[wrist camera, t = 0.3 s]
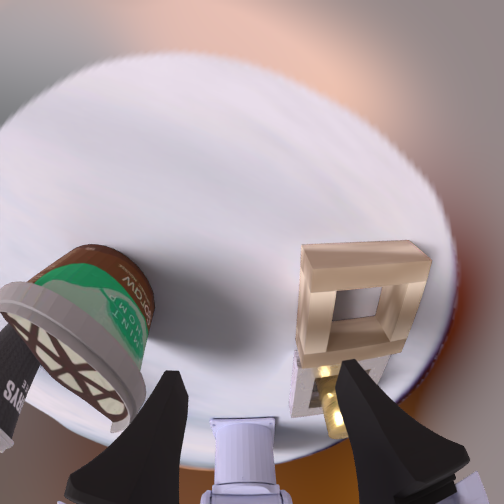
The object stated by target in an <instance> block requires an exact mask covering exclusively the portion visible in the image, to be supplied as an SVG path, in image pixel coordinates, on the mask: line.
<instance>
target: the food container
mask: <svg viewBox="0 0 504 504" xmlns="http://www.w3.org/2000/svg"><path fill="white" fill-rule="evenodd" d="M154 309H155V304H154V296H153V291H152V289H151V286H150V284H149V282H148V280H147V278H146V277H145V275H144V273H143V272H142V271H141V270H140V269H139V267H138V266H137V265H136V264H135V263H134V262H133V261H131V260H130V259H129V258H128V257H126V256H125V255H123V254H122V253H120V252H118V251H116V250H115V249H112V248H109V247H107V246H102V245H97V244H88V245H82V246H79V247H77V248H75V249H73V250H72V251H70V252H69V253H67V254H66V255H64V256H63V257H61V258H60V259H58V260H57V261H55V262H54V263H52V264H51V265H50V266H48V267H47V268H45V269H44V270H42V271H41V272H40V273H38V274H37V275H35V276H34V277H33V278H31V279H30V280H29V281H27V282H11V283H9V284H6V285H5V286H3V287H2V288H1V289H0V313H1V314H2V316H3V317H4V318H5V320H6V321H7V322H8V323H9V324H10V325H11V326H12V327H13V329H14V330H15V331H16V332H17V334H18V335H19V336H20V337H21V339H22V340H23V341H24V342H25V343H26V345H27V346H28V347H29V349H30V350H31V351H32V353H33V354H34V356H35V357H36V358H37V360H38V361H39V362H40V364H41V365H42V366H43V367H44V369H45V370H46V371H47V372H48V373H49V374H50V376H51V377H52V378H53V379H55V380H56V381H57V382H58V383H60V384H61V385H62V386H64V387H65V388H67V389H68V390H70V391H71V392H73V393H75V394H76V395H78V396H79V397H80V398H82V399H83V400H85V401H86V402H88V403H89V404H90V405H91V406H93V407H94V408H95V409H97V410H98V411H99V412H101V413H102V414H103V415H105V416H106V417H107V418H109V419H110V420H111V421H112V426H111V431H110V433H115V432H119V431H122V430H124V429H125V428H126V427H127V426H128V424H129V423H131V422H132V421H133V419H134V418H135V417H136V415H137V413H138V411H139V410H140V408H141V406H142V404H143V402H144V401H145V396H146V388H145V383H144V380H143V377H142V374H141V372H140V370H141V365H142V360H143V355H144V351H145V346H146V342H147V337H148V333H149V329H150V325H151V321H152V317H153V313H154Z"/></svg>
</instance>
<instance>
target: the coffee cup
mask: <svg viewBox="0 0 504 504" xmlns="http://www.w3.org/2000/svg"><path fill="white" fill-rule="evenodd" d="M39 366H40V362H39V361H38V360H37V358H36V357H35V356H34V354H33V353H32V351H31V350H30V349H29V347H28V346H27V345H26V343H25V342H24V341H23V340H22V339H21V337H20V336H19V335H18V334H17V332H16V331H15V330H14V329H13V327H12V326H11V325H10V324H9V323H8V324H7V325H6V326H5V327H4V328H3V329H2V330H1V331H0V452H1V453H3V452H4V450H5V449H6V448H7V449H9V448H10V447H12V446H13V445H14V442H13V441H12V440H11V439H12V436H13V433H14V429H15V426H16V423H17V420H18V417H19V414H20V412H21V409H22V406H23V403H24V401H25V398H26V396H27V393H28V391H29V389H30V386H31V384H32V382H33V379H34V377H35V375H36V373H37V370H38V368H39Z"/></svg>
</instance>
